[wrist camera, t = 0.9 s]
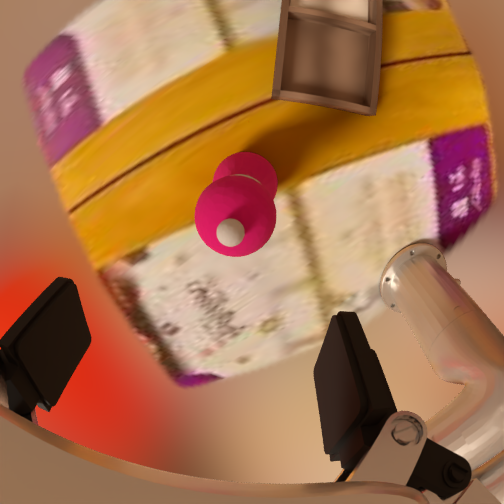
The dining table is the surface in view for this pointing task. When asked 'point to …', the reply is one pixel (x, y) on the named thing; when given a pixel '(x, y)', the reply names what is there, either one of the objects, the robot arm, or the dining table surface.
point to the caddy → (330, 54)
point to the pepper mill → (238, 205)
